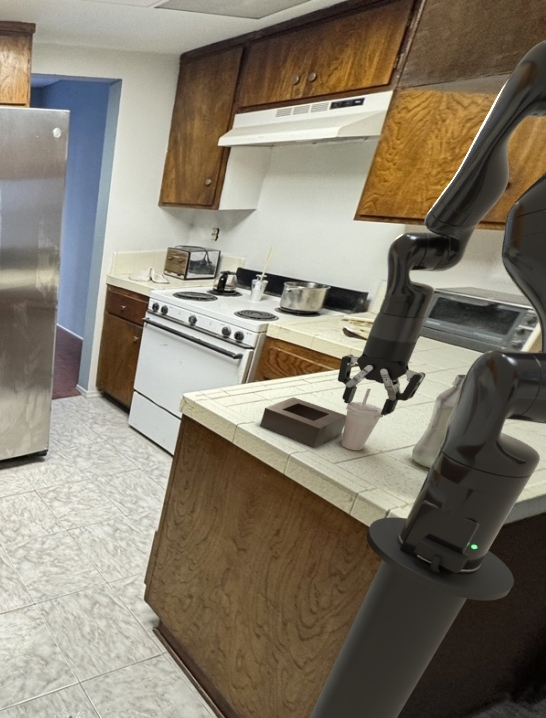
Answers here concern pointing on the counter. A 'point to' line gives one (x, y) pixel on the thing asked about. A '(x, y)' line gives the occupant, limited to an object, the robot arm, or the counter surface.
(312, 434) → the holder
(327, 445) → the counter surface
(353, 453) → the counter surface
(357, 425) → the smoothie
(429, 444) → the plastic bottle
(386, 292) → the robot arm
